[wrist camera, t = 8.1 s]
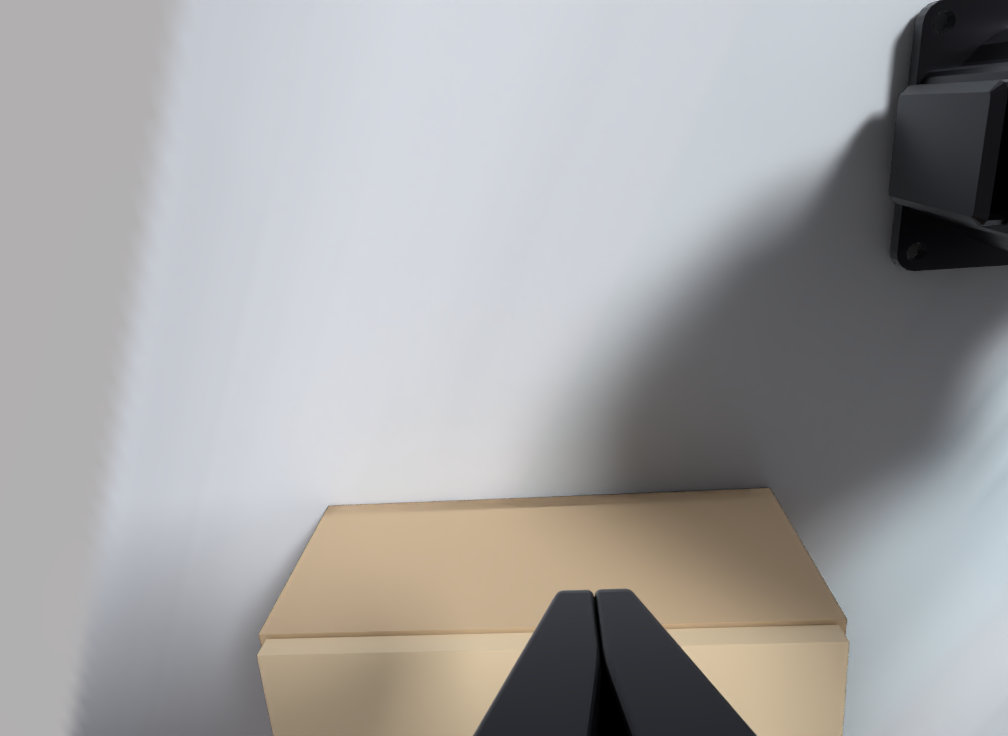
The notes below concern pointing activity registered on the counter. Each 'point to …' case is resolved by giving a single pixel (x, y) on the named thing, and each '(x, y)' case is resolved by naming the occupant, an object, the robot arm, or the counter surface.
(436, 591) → the cardboard box
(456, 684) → the flap
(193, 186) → the counter surface
